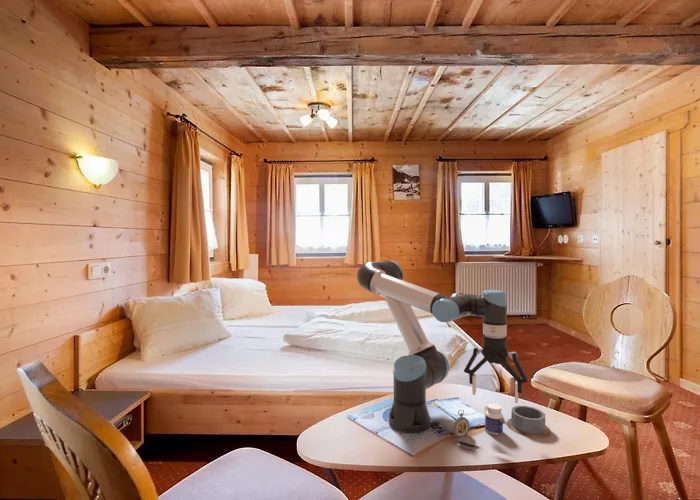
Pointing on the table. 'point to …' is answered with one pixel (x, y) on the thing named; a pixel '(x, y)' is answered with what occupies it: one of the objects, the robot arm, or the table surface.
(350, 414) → the table surface
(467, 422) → the pocket watch
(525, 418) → the grey round bowl
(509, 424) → the board
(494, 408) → the pill bottle
